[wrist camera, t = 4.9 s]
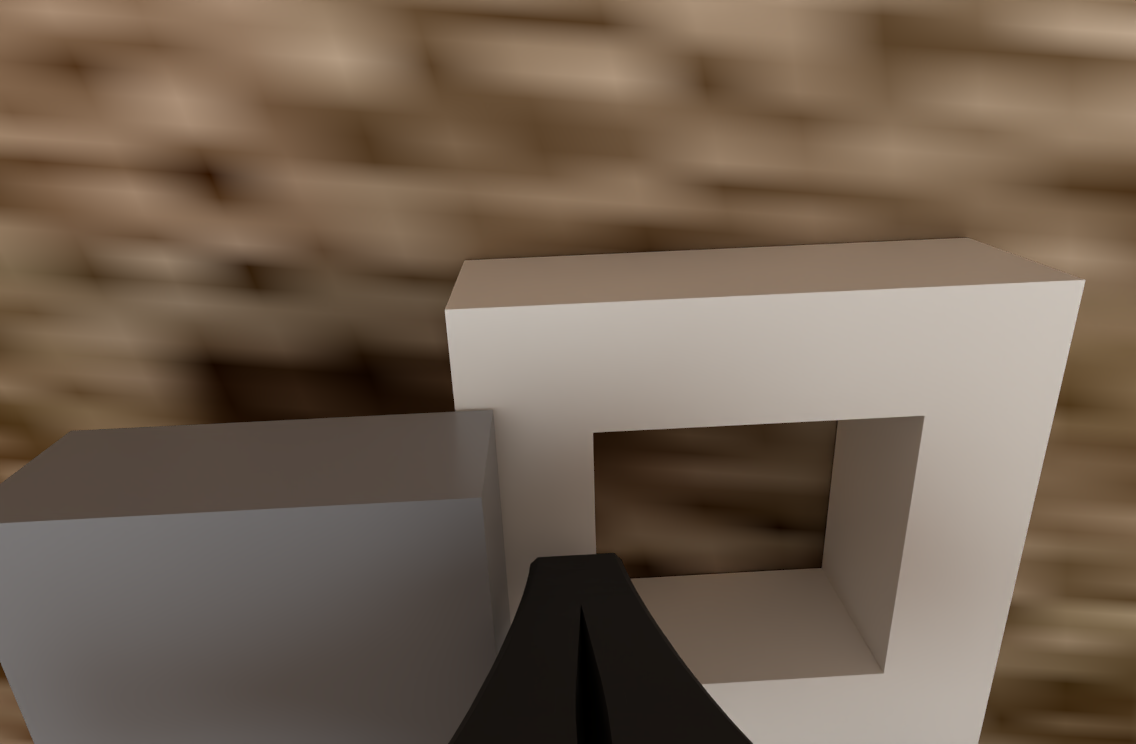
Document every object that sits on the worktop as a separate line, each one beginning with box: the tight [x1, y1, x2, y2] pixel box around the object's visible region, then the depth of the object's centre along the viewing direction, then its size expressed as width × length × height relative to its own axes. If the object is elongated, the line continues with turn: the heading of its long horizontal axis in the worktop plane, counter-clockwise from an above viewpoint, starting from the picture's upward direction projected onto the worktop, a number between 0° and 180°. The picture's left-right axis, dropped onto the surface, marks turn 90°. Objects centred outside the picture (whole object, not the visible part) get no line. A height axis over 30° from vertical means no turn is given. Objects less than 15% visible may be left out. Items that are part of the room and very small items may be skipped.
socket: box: [445, 238, 1085, 744], centre depth 13 cm, size 9×9×3 cm
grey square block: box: [0, 410, 511, 744], centre depth 10 cm, size 6×6×2 cm
